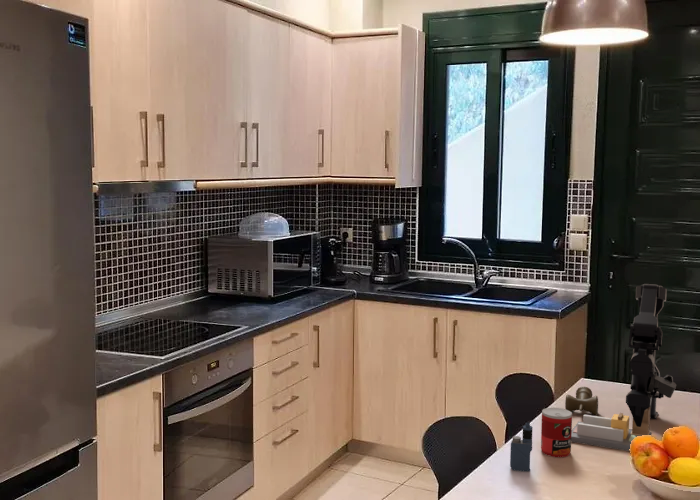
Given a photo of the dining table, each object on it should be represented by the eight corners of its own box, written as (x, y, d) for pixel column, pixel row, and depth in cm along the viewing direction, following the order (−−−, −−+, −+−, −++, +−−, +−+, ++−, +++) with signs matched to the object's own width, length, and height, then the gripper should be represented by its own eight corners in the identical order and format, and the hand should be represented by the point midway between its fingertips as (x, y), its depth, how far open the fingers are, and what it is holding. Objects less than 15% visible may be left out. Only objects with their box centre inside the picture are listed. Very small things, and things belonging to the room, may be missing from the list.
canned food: (554, 459, 207) (556, 418, 205) (534, 449, 214) (535, 409, 212) (577, 454, 210) (578, 414, 209) (556, 445, 217) (557, 405, 216)
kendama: (599, 404, 256) (597, 421, 237) (568, 401, 259) (563, 418, 241) (600, 385, 256) (597, 401, 237) (568, 383, 259) (563, 399, 240)
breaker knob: (613, 431, 224) (614, 411, 223) (628, 433, 222) (629, 413, 221) (610, 436, 219) (611, 416, 219) (625, 439, 217) (626, 418, 217)
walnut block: (634, 428, 225) (635, 404, 224) (649, 431, 223) (650, 406, 222) (632, 433, 221) (633, 408, 221) (647, 435, 220) (648, 410, 219)
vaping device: (531, 472, 198) (533, 425, 197) (509, 470, 199) (511, 423, 198) (531, 468, 201) (532, 421, 199) (510, 466, 202) (511, 420, 200)
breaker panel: (578, 426, 233) (578, 411, 232) (651, 437, 223) (652, 421, 223) (567, 441, 220) (568, 425, 220) (644, 453, 211) (645, 437, 211)
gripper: (671, 378, 208) (668, 436, 210) (678, 362, 225) (675, 416, 227) (626, 373, 213) (624, 430, 215) (636, 358, 230) (634, 410, 232)
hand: (641, 421), depth 222 cm, fingers open, 9 cm apart
